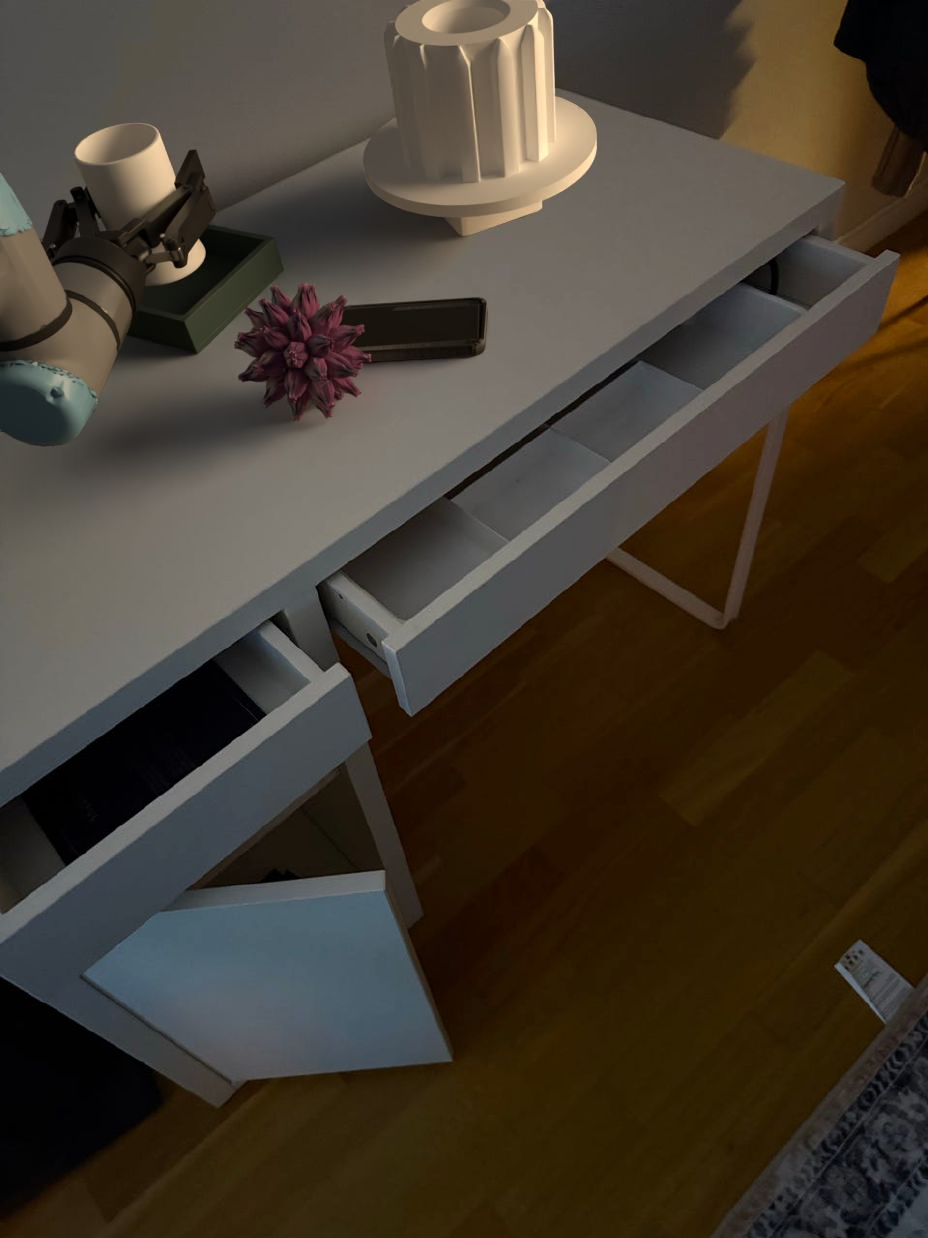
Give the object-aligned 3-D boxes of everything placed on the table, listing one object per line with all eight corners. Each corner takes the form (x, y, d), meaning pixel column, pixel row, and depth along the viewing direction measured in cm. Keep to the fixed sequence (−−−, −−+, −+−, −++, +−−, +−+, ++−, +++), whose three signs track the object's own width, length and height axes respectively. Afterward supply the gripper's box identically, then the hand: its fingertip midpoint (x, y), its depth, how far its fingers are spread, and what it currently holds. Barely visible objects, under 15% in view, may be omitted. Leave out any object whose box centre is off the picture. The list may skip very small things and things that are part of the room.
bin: (84, 324, 96) (67, 292, 93) (174, 246, 104) (162, 214, 101) (197, 354, 90) (184, 321, 87) (284, 269, 98) (275, 236, 95)
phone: (483, 345, 84) (326, 353, 86) (484, 355, 85) (329, 363, 87) (487, 295, 89) (338, 304, 91) (488, 305, 90) (341, 314, 92)
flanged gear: (532, 129, 111) (523, -54, 96) (639, 218, 97) (648, 18, 82) (344, 192, 107) (304, 10, 92) (426, 295, 92) (394, 99, 77)
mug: (146, 226, 97) (97, 109, 88) (221, 220, 96) (181, 101, 87) (112, 289, 90) (56, 169, 81) (194, 284, 89) (146, 161, 79)
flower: (362, 456, 81) (228, 442, 80) (376, 367, 88) (253, 353, 87) (363, 353, 71) (211, 335, 71) (379, 261, 78) (240, 245, 77)
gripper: (-2, 344, 81) (75, 212, 95) (220, 328, 79) (266, 194, 92) (-49, 268, 75) (40, 139, 89) (190, 248, 73) (244, 117, 87)
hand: (155, 167), depth 91 cm, fingers closed on mug, 8 cm apart
